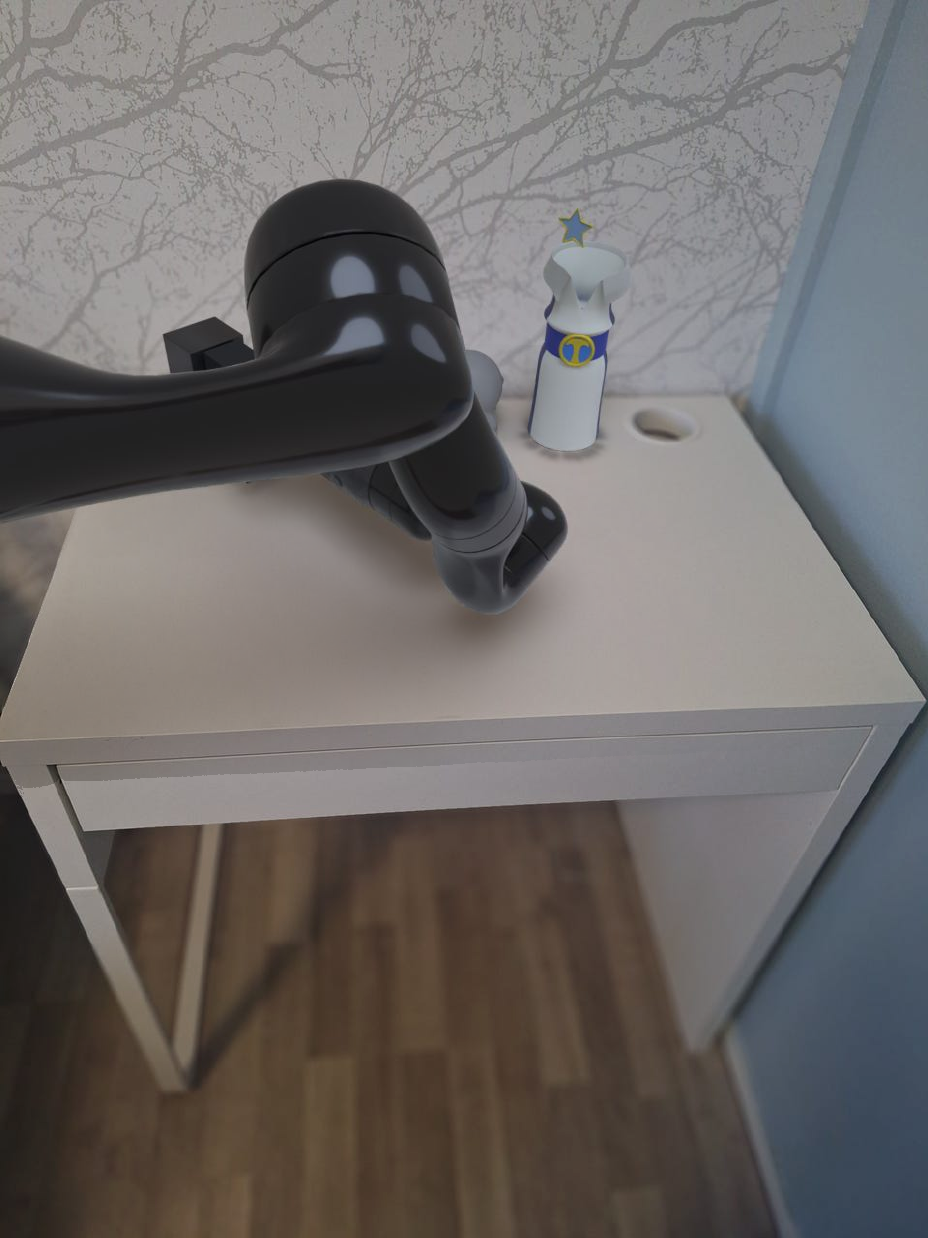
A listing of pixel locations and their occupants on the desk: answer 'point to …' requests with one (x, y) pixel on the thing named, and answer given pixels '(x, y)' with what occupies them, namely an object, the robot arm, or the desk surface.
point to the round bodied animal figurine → (486, 382)
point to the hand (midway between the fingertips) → (255, 376)
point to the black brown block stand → (196, 344)
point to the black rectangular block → (228, 355)
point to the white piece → (576, 338)
